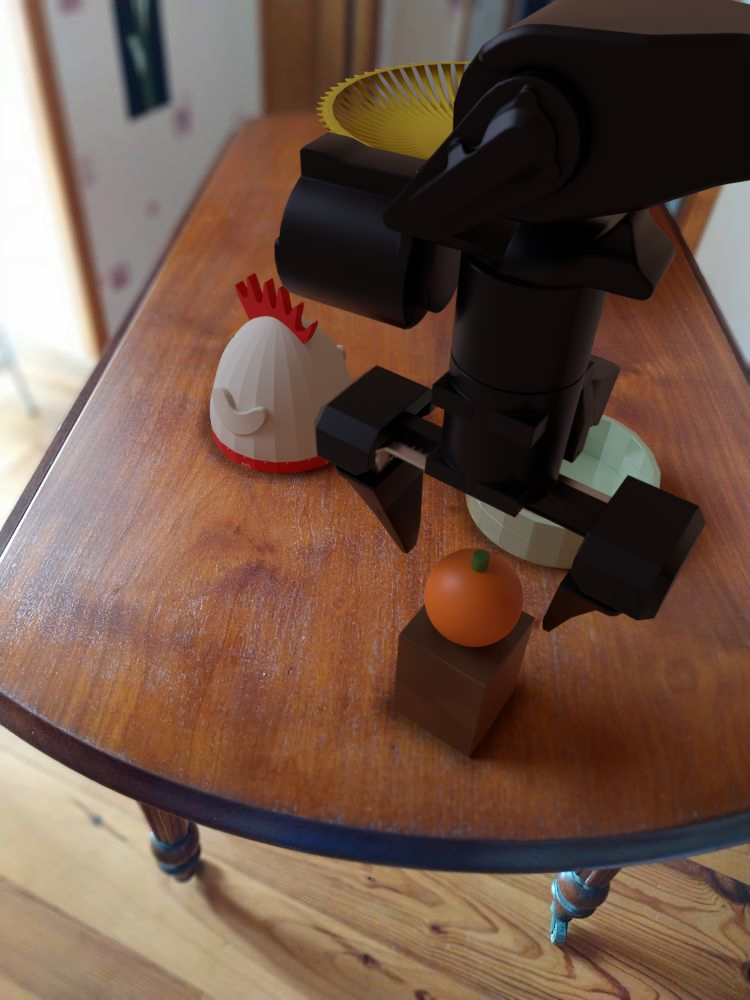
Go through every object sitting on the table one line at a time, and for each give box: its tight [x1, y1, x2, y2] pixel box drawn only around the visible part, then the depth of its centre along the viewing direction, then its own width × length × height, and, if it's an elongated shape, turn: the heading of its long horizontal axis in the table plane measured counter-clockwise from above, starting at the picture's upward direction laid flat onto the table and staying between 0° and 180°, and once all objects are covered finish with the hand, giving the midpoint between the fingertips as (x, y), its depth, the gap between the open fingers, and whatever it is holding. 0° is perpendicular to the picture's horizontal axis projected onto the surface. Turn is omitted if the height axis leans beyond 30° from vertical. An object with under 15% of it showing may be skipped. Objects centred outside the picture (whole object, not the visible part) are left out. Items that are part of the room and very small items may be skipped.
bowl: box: [465, 413, 662, 570], centre depth 63 cm, size 15×15×5 cm
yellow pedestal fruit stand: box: [315, 60, 472, 160], centre depth 95 cm, size 40×40×15 cm
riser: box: [392, 603, 536, 759], centre depth 48 cm, size 6×6×9 cm
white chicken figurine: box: [209, 272, 354, 474], centre depth 66 cm, size 14×14×15 cm
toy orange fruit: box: [423, 547, 524, 647], centre depth 42 cm, size 6×6×6 cm
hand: (476, 585), depth 43 cm, fingers open, 9 cm apart
